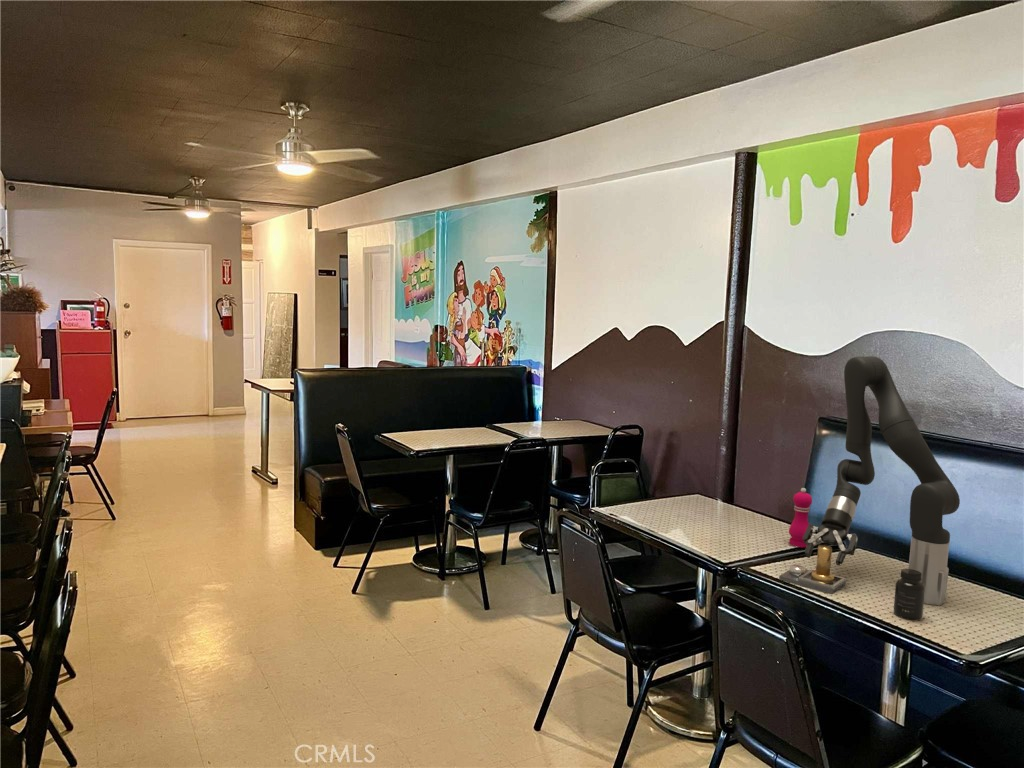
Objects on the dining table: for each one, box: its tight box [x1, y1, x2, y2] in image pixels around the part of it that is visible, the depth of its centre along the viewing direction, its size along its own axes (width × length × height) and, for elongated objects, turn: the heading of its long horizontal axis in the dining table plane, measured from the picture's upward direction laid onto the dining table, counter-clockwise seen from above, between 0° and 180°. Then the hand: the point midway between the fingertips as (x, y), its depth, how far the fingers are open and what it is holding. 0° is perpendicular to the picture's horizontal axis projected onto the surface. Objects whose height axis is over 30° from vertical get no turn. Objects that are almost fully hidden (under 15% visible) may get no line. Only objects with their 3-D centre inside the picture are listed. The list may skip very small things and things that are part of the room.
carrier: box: [778, 564, 847, 595], centre depth 213 cm, size 15×12×3 cm
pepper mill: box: [788, 487, 813, 548], centre depth 248 cm, size 7×7×20 cm
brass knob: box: [811, 544, 834, 584], centre depth 211 cm, size 6×6×10 cm
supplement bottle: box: [893, 568, 925, 621], centre depth 190 cm, size 7×7×12 cm
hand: (822, 560), depth 209 cm, fingers open, 8 cm apart
